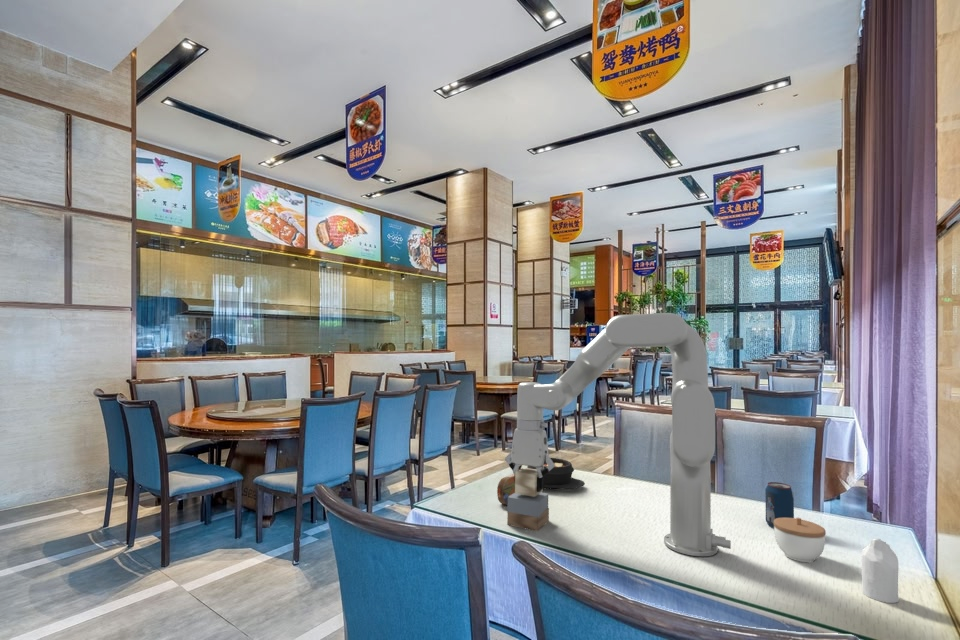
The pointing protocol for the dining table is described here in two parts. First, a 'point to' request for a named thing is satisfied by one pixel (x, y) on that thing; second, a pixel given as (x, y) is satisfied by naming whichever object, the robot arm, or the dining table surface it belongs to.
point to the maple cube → (526, 482)
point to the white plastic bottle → (880, 572)
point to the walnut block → (528, 520)
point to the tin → (506, 488)
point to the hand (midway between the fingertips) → (528, 488)
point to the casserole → (560, 476)
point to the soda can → (778, 502)
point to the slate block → (528, 504)
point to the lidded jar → (799, 538)
